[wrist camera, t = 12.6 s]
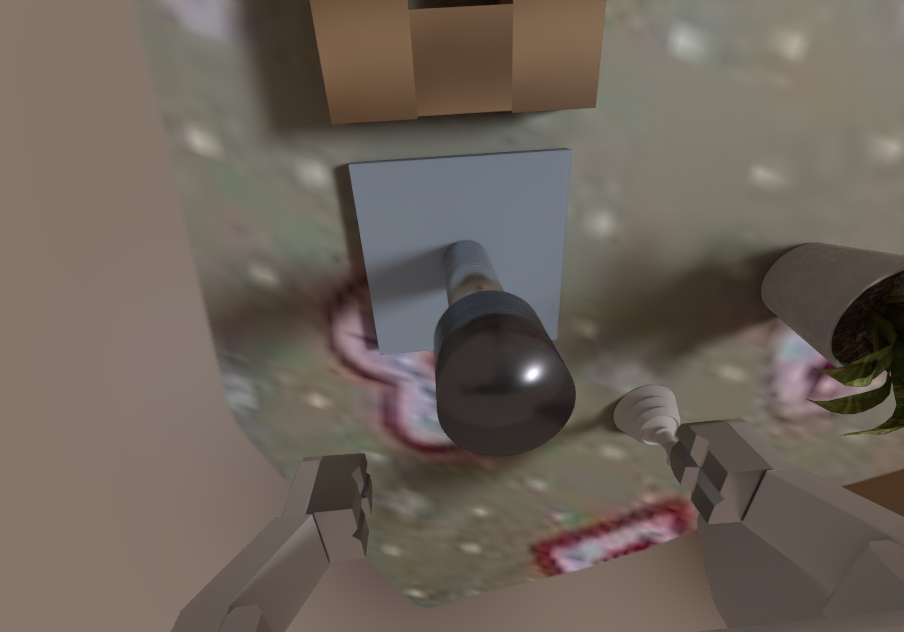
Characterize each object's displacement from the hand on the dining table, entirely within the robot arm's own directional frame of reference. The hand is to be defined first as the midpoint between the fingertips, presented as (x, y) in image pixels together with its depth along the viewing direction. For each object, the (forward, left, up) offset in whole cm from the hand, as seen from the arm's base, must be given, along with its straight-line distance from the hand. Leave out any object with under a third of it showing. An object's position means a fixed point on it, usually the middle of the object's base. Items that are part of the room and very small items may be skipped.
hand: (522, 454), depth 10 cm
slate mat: (0, 0, -16) cm, 16 cm away
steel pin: (0, 0, -15) cm, 15 cm away
